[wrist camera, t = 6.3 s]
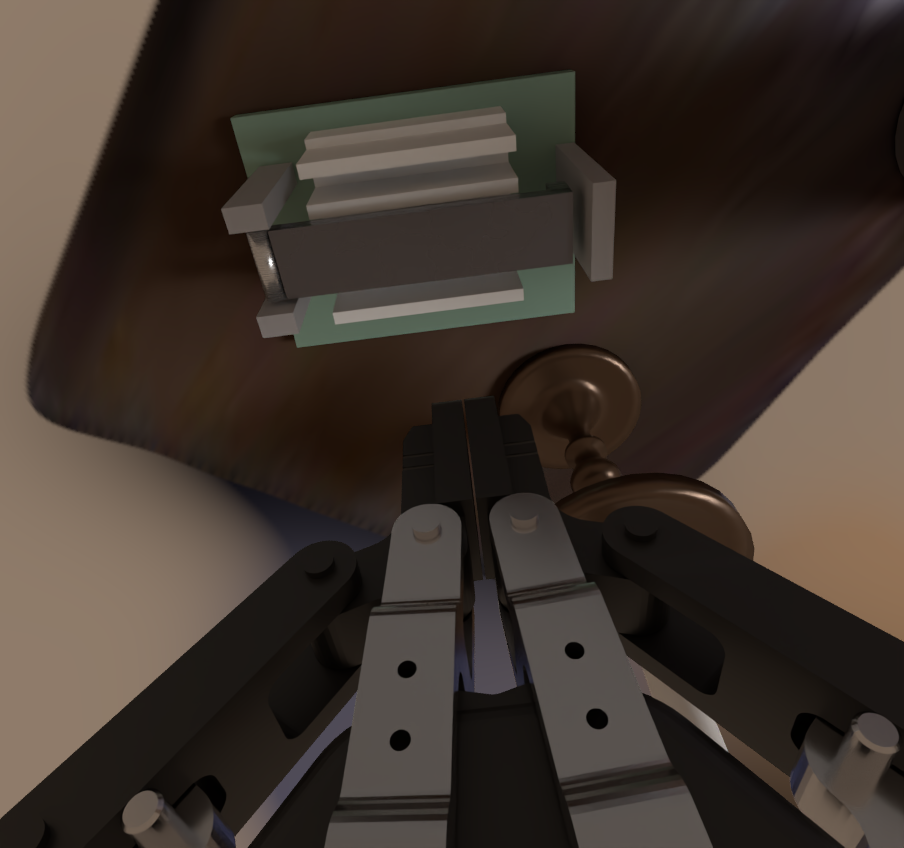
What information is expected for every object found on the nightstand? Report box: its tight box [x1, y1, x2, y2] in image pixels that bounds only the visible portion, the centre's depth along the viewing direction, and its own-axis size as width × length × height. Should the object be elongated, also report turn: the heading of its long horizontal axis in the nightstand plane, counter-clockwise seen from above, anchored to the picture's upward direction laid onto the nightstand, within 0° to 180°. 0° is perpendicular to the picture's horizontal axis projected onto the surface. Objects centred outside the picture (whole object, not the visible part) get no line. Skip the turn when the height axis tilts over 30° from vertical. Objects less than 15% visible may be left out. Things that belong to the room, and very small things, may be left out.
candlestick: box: [499, 344, 754, 752], centre depth 25 cm, size 11×11×35 cm
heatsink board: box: [221, 69, 616, 348], centre depth 29 cm, size 16×12×8 cm
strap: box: [246, 181, 573, 302], centre depth 26 cm, size 14×3×2 cm, turn 97°
